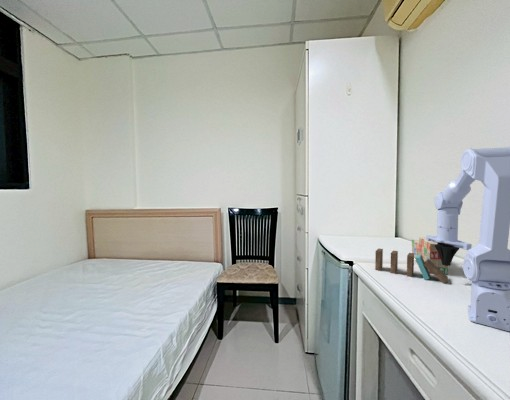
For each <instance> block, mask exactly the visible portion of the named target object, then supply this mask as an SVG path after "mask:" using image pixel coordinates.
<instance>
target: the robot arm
mask: <svg viewBox="0 0 510 400" xmlns="http://www.w3.org/2000/svg"><path fill="white" fill-rule="evenodd" d="M460 166H461V171H460V172H459V175H458V176H457V178H456V179H453V180H451V181H450V182H448V184H447V186H446V187H445V189H444V190H443V192H437V193H436V195H435V197H434V207H435V209H436V210H437V219H436V221H437V223H436V225H437V227H436V236H435V235H426V236H425V237H426V241H432V242H436V243H438V244H437V245H435V248H436V249H437V251H438V253H439V255H440V258H441V262H442V265H445V266H448V267H449V266H451V264H452V262H453V259H454V257H455V255H456V254H457V252H458V251H460V249H461V250H464V251H466V253H465V254H466V255H465V257H464V258H465V259H464V260H463V263H462V271H463V274H464V276H465V277H466V279H468V281H470V282H471V288H470V289H471V290H470V291H471V294H470V295H471V296H470V304H469V305H468V306H467V308H468V309H467V310H468V320H469V321H470V322H473V323H476V324H480V325H484V326H488V327H490V328H495V329H498V330H502V331H506V332H510V249H509V248H508V246H509V237H510V146H507V147H506V146H505V147H490V148H489V147H488V148H487V147H486V148H467V149H466V150H465V151H464V152H463V153H462V155H461V157H460ZM475 181H480V182H481V183H482V184H483V192H482V194H483V195H482V205H481V214H480V215H481V217H480V218H481V219H480V228H479V238H478V244H476V245H475V246H472V243H467V242H465V241H462V240H458V235H459V233H458V231H459V216H460V215H461V211H462V207H463V200H464V199H465V197H467V195H468V194H469V193H470V191H472V190H471V189H472V187H471V186H472V184H473V183H474V182H475Z"/></svg>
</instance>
